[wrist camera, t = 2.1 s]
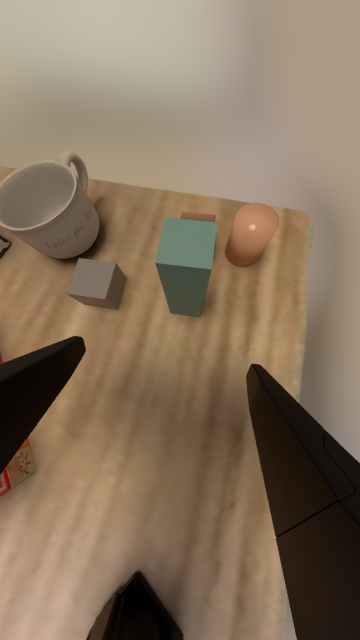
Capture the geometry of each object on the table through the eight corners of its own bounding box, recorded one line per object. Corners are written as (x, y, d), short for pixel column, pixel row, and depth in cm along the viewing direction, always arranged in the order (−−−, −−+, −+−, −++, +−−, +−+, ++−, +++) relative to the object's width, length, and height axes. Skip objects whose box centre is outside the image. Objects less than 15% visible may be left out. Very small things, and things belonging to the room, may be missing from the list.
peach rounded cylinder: (265, 251, 26) (288, 218, 20) (244, 273, 25) (261, 245, 19) (239, 232, 27) (253, 196, 21) (218, 253, 26) (227, 221, 20)
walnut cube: (207, 264, 26) (212, 244, 21) (178, 261, 26) (176, 240, 22) (211, 239, 27) (215, 215, 22) (182, 236, 27) (181, 211, 23)
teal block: (199, 317, 24) (211, 269, 12) (170, 313, 24) (155, 262, 12) (202, 290, 25) (217, 222, 13) (175, 286, 25) (165, 217, 13)
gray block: (118, 309, 24) (105, 299, 21) (84, 304, 25) (66, 293, 21) (126, 278, 26) (115, 262, 22) (94, 274, 26) (79, 258, 22)
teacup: (77, 280, 26) (29, 243, 18) (27, 248, 28) (-35, 202, 20) (132, 215, 28) (112, 159, 21) (83, 190, 30) (48, 130, 23)
